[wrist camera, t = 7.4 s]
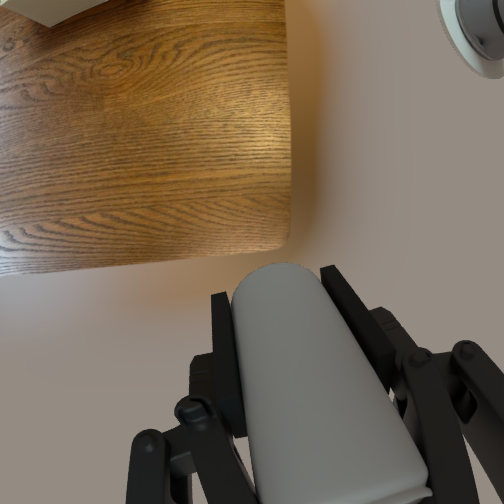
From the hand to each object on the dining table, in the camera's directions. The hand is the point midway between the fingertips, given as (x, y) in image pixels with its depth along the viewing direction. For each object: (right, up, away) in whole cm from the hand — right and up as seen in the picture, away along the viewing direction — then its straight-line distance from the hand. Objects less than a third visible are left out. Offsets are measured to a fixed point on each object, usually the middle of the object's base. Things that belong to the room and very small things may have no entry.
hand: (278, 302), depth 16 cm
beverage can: (0, 0, 0) cm, 1 cm away
